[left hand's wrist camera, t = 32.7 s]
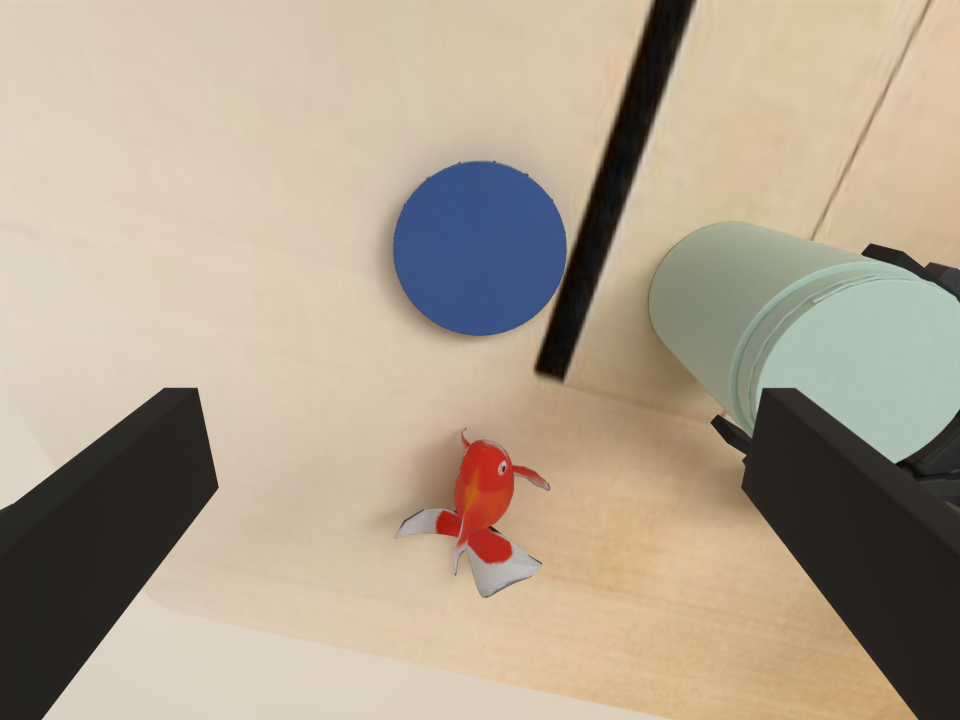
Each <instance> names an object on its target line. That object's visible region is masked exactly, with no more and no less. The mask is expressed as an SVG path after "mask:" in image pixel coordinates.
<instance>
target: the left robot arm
mask: <svg viewBox="0 0 960 720" xmlns="http://www.w3.org/2000/svg"><path fill="white" fill-rule="evenodd" d="M218 488H219V487H218V482H217V477H216V473H215V468H214V463H213V458H212V454H211V449H210V444H209V440H208V435H207V430H206V426H205V421H204V416H203V411H202V407H201V402H200V397H199V393H198V388H164V389H162V390H161V391H160V392H158V393H157V394H156V395H154V396H153V397H152V398H151V399H149V400H148V401H147V402H145V403H144V404H143V405H141V406H140V407H139V408H138V409H136V410H135V411H134V412H132V413H131V414H130V415H128V416H127V417H126V418H125V419H123V420H122V421H121V422H119V423H118V424H117V425H115V426H114V427H113V428H111V429H110V430H109V431H108V432H106V433H105V434H104V435H102V436H101V437H100V438H98V439H97V440H96V441H95V442H93V443H92V444H91V445H89V446H88V447H87V448H85V449H84V450H83V451H82V452H80V453H79V454H78V455H76V456H75V457H74V458H72V459H71V460H70V461H69V462H67V463H66V464H65V465H63V466H62V467H61V468H59V469H58V470H57V471H55V472H54V473H53V474H52V475H50V476H49V477H48V478H46V479H45V480H44V481H42V482H41V483H40V484H39V485H37V486H36V487H35V488H33V489H32V490H31V491H29V492H28V493H27V494H26V495H24V496H23V497H22V498H20V499H19V500H18V501H16V502H15V503H14V504H11V505H9V506H7V507H5V508H3V509H1V510H0V720H42V718H43V717H44V716H45V714H46V713H47V712H48V711H49V709H50V708H51V707H52V705H53V704H54V703H55V701H56V700H57V699H58V698H59V696H60V695H61V694H62V692H63V691H64V690H65V688H66V687H67V686H68V684H69V683H70V682H71V680H72V679H73V678H74V677H75V675H76V674H77V673H78V671H79V670H80V669H81V667H82V666H83V665H84V663H85V662H86V661H87V660H88V658H89V657H90V656H91V654H92V653H93V652H94V650H95V649H96V648H97V646H98V645H99V644H100V643H101V641H102V640H103V639H104V637H105V636H106V635H107V633H108V632H109V631H110V629H111V628H112V627H113V626H114V624H115V623H116V622H117V620H118V619H119V618H120V616H121V615H122V614H123V612H124V611H125V610H126V608H127V607H128V606H129V604H130V603H131V602H132V601H133V599H134V598H135V597H136V595H137V594H138V593H139V591H140V590H141V589H142V588H143V586H144V585H145V584H146V582H147V581H148V580H149V578H150V577H151V576H152V574H153V573H154V572H155V571H156V569H157V568H158V567H159V565H160V564H161V563H162V561H163V560H164V559H165V557H166V556H167V555H168V553H169V552H170V551H171V550H172V548H173V547H174V546H175V544H176V543H177V542H178V540H179V539H180V538H181V536H182V535H183V534H184V533H185V531H186V530H187V529H188V527H189V526H190V525H191V523H192V522H193V521H194V519H195V518H196V517H197V516H198V514H199V513H200V512H201V510H202V509H203V508H204V506H205V505H206V504H207V502H208V501H209V500H210V498H211V497H212V496H213V495H214V493H215V492H216V491H217V489H218ZM741 488H742V489H743V491H744V492H745V493H746V495H747V496H748V497H749V498H750V500H751V501H752V502H753V504H754V505H755V506H756V508H757V509H758V510H759V512H760V513H761V514H762V516H763V517H764V518H765V519H766V521H767V522H768V523H769V525H770V526H771V527H772V529H773V530H774V531H775V533H776V534H777V535H778V536H779V538H780V539H781V540H782V542H783V543H784V544H785V546H786V547H787V548H788V550H789V551H790V552H791V553H792V555H793V556H794V557H795V559H796V560H797V561H798V563H799V564H800V565H801V567H802V568H803V569H804V571H805V572H806V573H807V574H808V576H809V577H810V578H811V580H812V581H813V582H814V584H815V585H816V586H817V588H818V589H819V590H820V591H821V593H822V594H823V595H824V597H825V598H826V599H827V601H828V602H829V603H830V605H831V606H832V607H833V608H834V610H835V611H836V612H837V614H838V615H839V616H840V618H841V619H842V620H843V622H844V623H845V624H846V626H847V627H848V628H849V629H850V631H851V632H852V633H853V635H854V636H855V637H856V639H857V640H858V641H859V643H860V644H861V645H862V646H863V648H864V649H865V650H866V652H867V653H868V654H869V656H870V657H871V658H872V660H873V661H874V662H875V663H876V665H877V666H878V667H879V669H880V670H881V671H882V673H883V674H884V675H885V677H886V678H887V679H888V681H889V682H890V683H891V684H892V686H893V687H894V688H895V690H896V691H897V692H898V694H899V695H900V696H901V698H902V699H903V700H904V701H905V703H906V704H907V705H908V707H909V708H910V709H911V711H912V712H913V713H914V715H915V716H916V717H917V718H918V720H960V508H959V507H957V506H955V505H953V504H951V503H949V502H944V501H942V500H941V499H940V498H938V497H937V496H936V495H934V494H933V493H932V492H931V491H929V490H928V489H927V488H925V487H924V486H923V485H921V484H920V483H919V482H918V481H916V480H915V479H914V478H912V477H911V476H910V475H908V474H907V473H906V472H905V471H903V470H902V469H901V468H899V467H898V466H897V465H895V464H894V463H893V462H891V461H890V460H889V459H888V458H886V457H885V456H884V455H882V454H881V453H880V452H878V451H877V450H876V449H875V448H873V447H872V446H871V445H869V444H868V443H867V442H865V441H864V440H863V439H862V438H860V437H859V436H858V435H856V434H855V433H854V432H852V431H851V430H850V429H849V428H847V427H846V426H845V425H843V424H842V423H841V422H839V421H838V420H837V419H835V418H834V417H833V416H832V415H830V414H829V413H828V412H826V411H825V410H824V409H822V408H821V407H820V406H819V405H817V404H816V403H815V402H813V401H812V400H811V399H809V398H808V397H807V396H806V395H804V394H803V393H802V392H800V391H799V390H798V389H796V388H762V393H761V397H760V402H759V407H758V411H757V416H756V421H755V426H754V430H753V435H752V440H751V444H750V449H749V454H748V458H747V463H746V468H745V472H744V477H743V482H742V487H741Z"/></svg>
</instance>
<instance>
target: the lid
mask: <svg viewBox="0 0 960 720" xmlns="http://www.w3.org/2000/svg"><path fill="white" fill-rule="evenodd" d="M528 176H529V175H528V174H526V173H525V174H524V173H522V172H521V171H518V170H516V169H514V168H512V167H510V166H507V165H504V164H501V163H496V161H493V162H490V161H470V162H464V163H461V162H459V163H458V164H456V165H453V166H450V167H448V168H445V169H443V170H442V171H440V172H438V173H436V174H435V175H433V176H432V177H428V178H427V180H426V181H425V182H424V183H422V184H421V186H420V187H419V188H418V189H417V190H416V191H415V192H414V193H413V194H412V196H411V197H410V198H409V200H408V201H407V203H406V204H404V208H403V210H402V212H401V214H400V217H399V219H398V222H397V226H396V230H395V235H394V244H393V249H394V262H395V268H396V271H397V275H398V278H399V280H400V283H401V285H402V287H403V289H404V291H405V293H406V294H407V296H408V298H409V299H410V300H411V302H412V303H413V304H414V305H415V307H416V308H417V309H418V310H419V311H420V312H421V313H422V314H424V315H425V316H426V317H427V318H429V319H430V320H431V321H433V322H435V323H436V324H438V325H440V326H442V327H444V328H446V329H449V330H451V331H454V332H458V333H461V334H468V335H493V334H498V333H502V332H506V331H509V330H511V329H514V328H516V327H518V326H520V325H522V324H524V323H525V322H527V321H528V320H530V319H531V318H533V317H534V316H535V315H536V314H537V313H539V312H540V311H541V310H542V309H543V307H544V306H545V305H546V304H547V303H548V302H549V300H550V299H551V297H552V296H553V294H554V293H555V291H556V289H557V287H558V285H559V283H560V280H561V277H562V275H563V271H564V267H565V262H566V252H567V249H566V236H565V233H566V232H565V230H564V226H563V223H562V220H561V217H560V214H559V212H558V210H557V208H556V206H555V204H554V203H553V199H551V198H550V197H549V195H548V194H547V193H546V192H545V191H544V190H543V188H542V187H541V186H539V185H538V184H537V183H536V182H535V181H534V180H533V179H531V178H530V177H528Z"/></svg>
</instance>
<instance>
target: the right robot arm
mask: <svg viewBox="0 0 960 720" xmlns="http://www.w3.org/2000/svg"><path fill="white" fill-rule="evenodd" d="M861 254H862V255H863V256H865V257H868V258H872V259H875V260H878V261H882V262H885V263H889V264H892V265H895V266H898V267H901V268H904V269H906V270H908V271H910V272H912V273H913V274H915V275H917V276H918V277H919V278H921V279H923V280H926V281H929V282H933V283H935V284H936V285H938V286H939V287H941V288H943V289H944V290H946V291H947V292H949V293H950V294H952V295H953V296H955V297H956V299H957V300H958V301H959V303H960V270H959V269H956V268H953V267H949V266H945V265H941V264H937V263H932V262H930V263H929V264H928V265H927V266H926V267H925V268H924V267H922V266H921V265H920V264H918V263H917V262H916V261H915V260H913V259H912V258H911V257H909V256H908V255H907V254H906V253H904V252H903V251H899V250H895V249H891V248H887V247H883V246H879V245H875V244H871V243H870V244H869V245H868V247H867V248H866V249H865V250H864V251H863V252H862V253H861ZM710 423H711V424H712V425H713V427H714V428H715V429H716V430H717V431H718V433H719V434H720V435H721V436H722V437H723V439H724V440H725V441H726V442H727V443H728V444H730V445H731V446H733V447H735V448H736V449H738V450H739V451H741V452H743V453H744V454H746V455H747V456H746V457H745V458H744V459H743V460H742V462H743V463H744V465H745V466H746V463H747V458H748V454H749V449H750V444H751V440H752V438H751V437H750V436H748V435H747V433H746V432H745V431H743V430H742V429H740V428H739V427H737V426H735V425H734V424H732V423H731V422H729V421H727V420H726V419H724V418H723V417H721V416H719V415H717V416H716V417H715V418H714V419H713V420H712V421H711V422H710ZM895 465H897V466H898V467H899V468H901V469H902V470H903V471H905V472H906V473H907V474H908V475H910V476H911V477H912V478H914V479H915V480H916V481H918V482H919V483H920V484H921V485H923V486H924V487H925V488H927V489H928V490H929V491H931V492H932V493H933V494H934V495H936V496H937V497H938V498H940V499H941V500H942V501H944V502H949V503H951V504H953V505H955V506H957V507H959V508H960V409H959V411H958V412H957V413H956V415H955V416H954V418H953V419H952V420H951V421H950V423H949V424H948V425H947V426H946V427H945V428H944V429H943V430H942V431H941V432H940V433H939V434H938V435H937V436H936V437H935V438H934V439H933V440H932V441H930V442H929V443H928V444H926V445H925V446H924V447H922V448H921V449H920V450H918V451H917V452H915V453H913V454H912V455H910V456H908V457H907V458H905V459H903V460H901V461H899V462H897V463H895Z"/></svg>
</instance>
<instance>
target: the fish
mask: <svg viewBox="0 0 960 720" xmlns="http://www.w3.org/2000/svg"><path fill="white" fill-rule="evenodd" d="M465 430H466V428H464V429H461V442H462V445H463V449H464V451H465V452H464V454H463V463H462V465H461V470H460V474H459V476H458V478H457V481H456V487H455V505H456V510H457V511H453V510H448V509H443V508H434V509H423V510H421V511H420V512H418V513H416V514H415V515H413V516H411V517H410V518H408V519H406V520H405V521H404V522H403V524H402V525H401V527H400V529H399V531H398V533H397V534H396V536H395V538H397V537H400V536H405V535H411V534H422V533H433V534H444V535H450V536H454V537H456V538H457V539H458V540H457V542H456V544H455V546H454V554H453V561H454V570H455V576H456V572H457V564H458V559H459V556H460V554H461V553H462V552H464V551H465V550H467V552H468V555H469V559H470V564H471V568H472V572H473V576H474V580H475V583H476V586H477V589H478V591H479V593H480V595H481V596H482V597H484V598H487V597H490V596H492V595H494V594H495V593H497V592H499V591H500V590H502V589H504V588H506V587H508V586H510V585H512V584H514V583H516V582H518V581H521V580H524V579H527V578H530V577H532V575H533V574H534V573H535V572H536V571H537V570H538V569H539V568H540V567H541V566H542V563H541V562H539V561H538V560H536V559H534V558H532V557H531V556H529V555H528V554H527V553H526V552H524V551H523V550H522V549H521V548H519V547H518V546H517V545H515V544H514V543H513V542H512V541H510V540H509V539H508V538H506V537H505V536H504V535H502V534H501V533H500V532H498V531H497V530H496V529H494V528H493V527H491V525H493V524H495V523H496V522H497V521H498V520H499V519H500V518H501V516H502V515H503V514H504V513H505V511H506V510H507V508H508V506H509V504H510V501H511V499H512V496H513V491H514V475H518V476H523V477H525V478H527V479H528V480H529V481H531V482H532V483H533V484H535V485H536V486H538V487H541V488H544V489H545V490H547V491H549V490H550V487H549V484H548V483H547V482H546V481H545V480H544V479H543V478H542V477H540V476H539V475H538V474H537V473H536V472H535V471H533V470H531V469H528V468H526V467H523V466H516V465H512V463H511V460H510V457H509V456H508V453H507V452H506V451H505V450H504V449H503V448H502V447H501V446H500V445H498V444H497V443H495V442H493V441H489V440H478V441H476V442H474V443H472V444H471V445H470V444H469V443H468V441H467V440H466V439H465V438H464V437H463V435H462V433H463V431H465Z"/></svg>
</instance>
